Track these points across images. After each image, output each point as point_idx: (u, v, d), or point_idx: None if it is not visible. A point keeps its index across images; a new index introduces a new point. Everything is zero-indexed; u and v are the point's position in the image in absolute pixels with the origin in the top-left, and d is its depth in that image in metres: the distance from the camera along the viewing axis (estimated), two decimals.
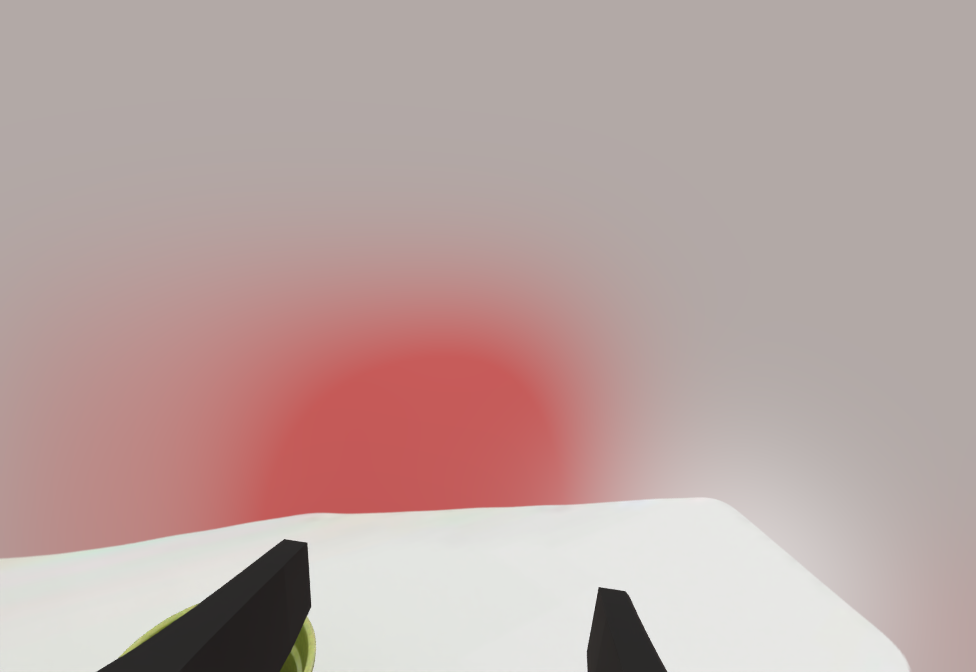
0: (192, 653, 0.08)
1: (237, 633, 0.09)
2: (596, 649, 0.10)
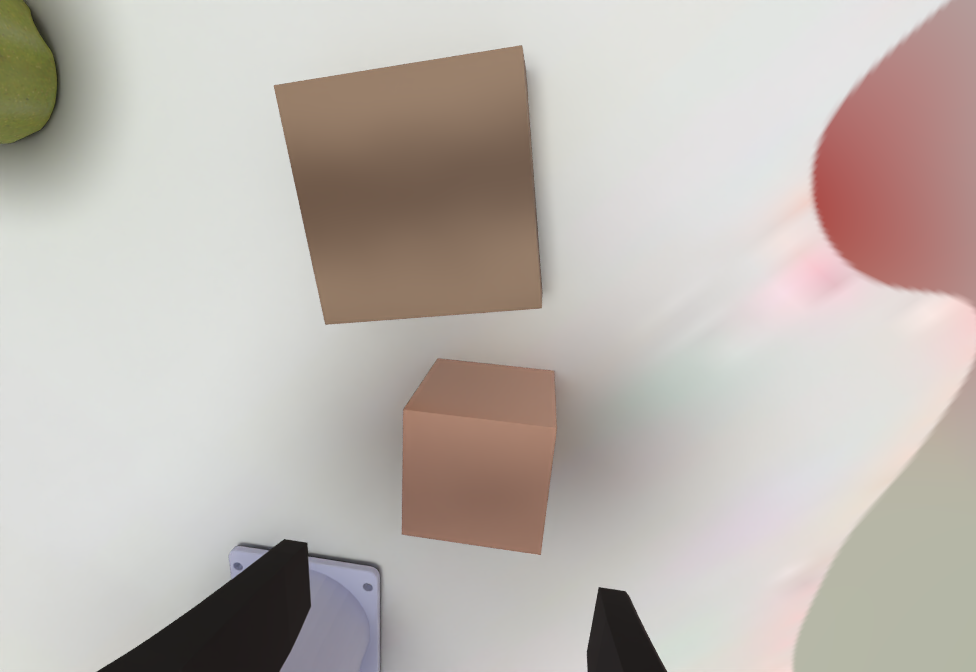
0: (192, 653, 0.08)
1: (237, 633, 0.09)
2: (596, 649, 0.10)
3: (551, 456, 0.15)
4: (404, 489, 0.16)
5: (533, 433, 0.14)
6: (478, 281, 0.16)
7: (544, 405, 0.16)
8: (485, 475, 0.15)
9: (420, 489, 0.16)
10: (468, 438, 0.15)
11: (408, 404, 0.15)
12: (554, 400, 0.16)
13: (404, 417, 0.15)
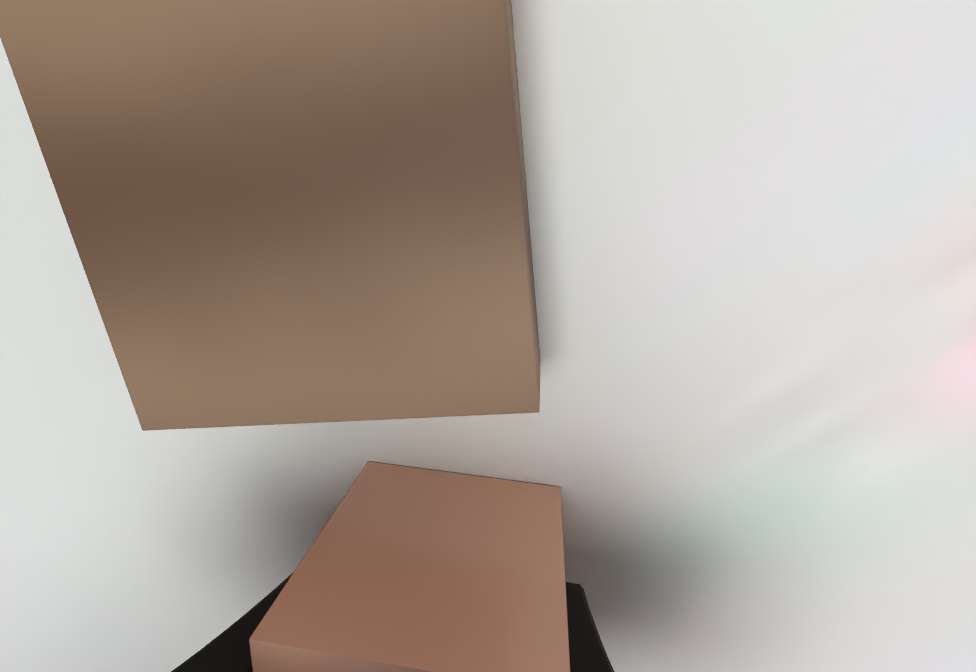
0: (248, 663, 0.07)
1: None
2: None
3: None
4: None
5: None
6: (414, 359, 0.08)
7: (544, 603, 0.08)
8: None
9: None
10: None
11: (267, 617, 0.07)
12: (563, 582, 0.09)
13: (252, 654, 0.07)
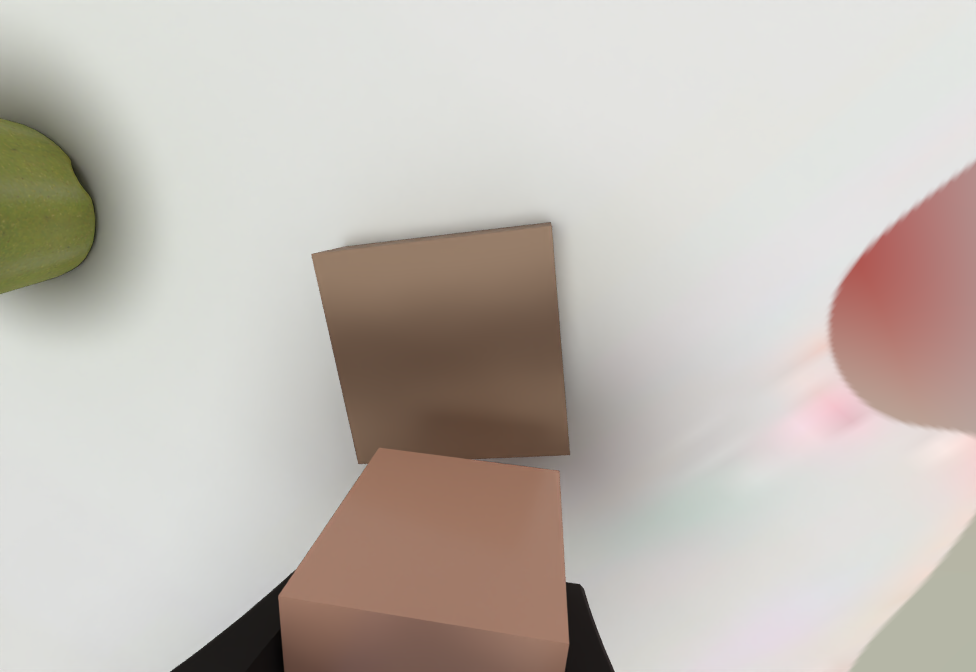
0: (248, 663, 0.07)
1: None
2: None
3: None
4: None
5: (523, 650, 0.07)
6: (508, 429, 0.16)
7: (544, 568, 0.09)
8: None
9: None
10: (402, 650, 0.08)
11: (294, 577, 0.08)
12: (562, 551, 0.09)
13: (281, 609, 0.08)
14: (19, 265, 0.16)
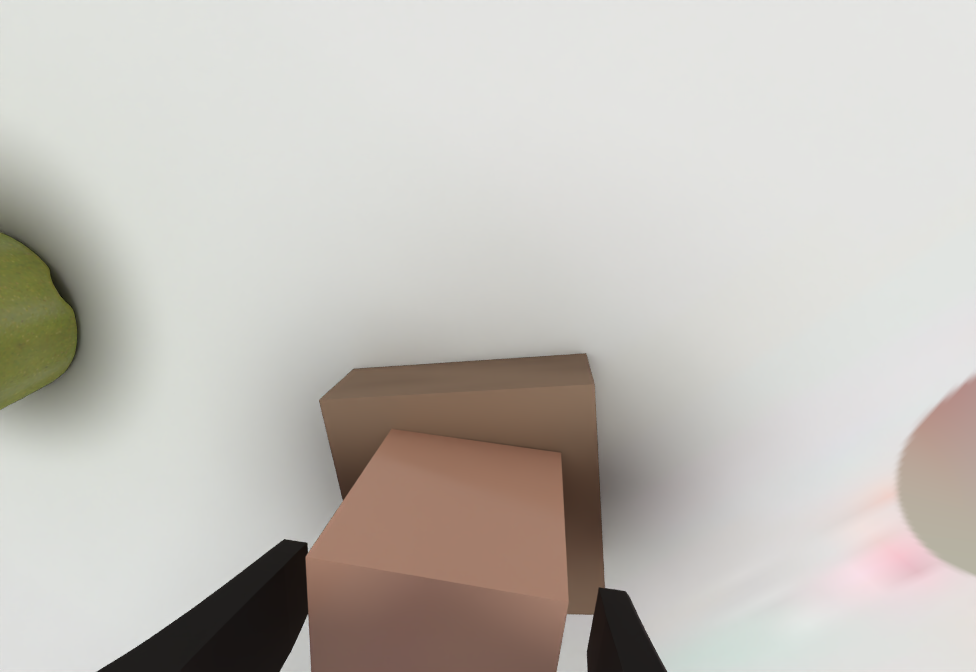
0: (192, 653, 0.08)
1: (237, 633, 0.09)
2: (596, 649, 0.10)
3: (558, 644, 0.08)
4: None
5: (527, 607, 0.08)
6: None
7: (546, 538, 0.10)
8: (445, 663, 0.09)
9: None
10: (416, 607, 0.09)
11: (318, 542, 0.09)
12: (563, 524, 0.10)
13: (307, 569, 0.09)
14: None
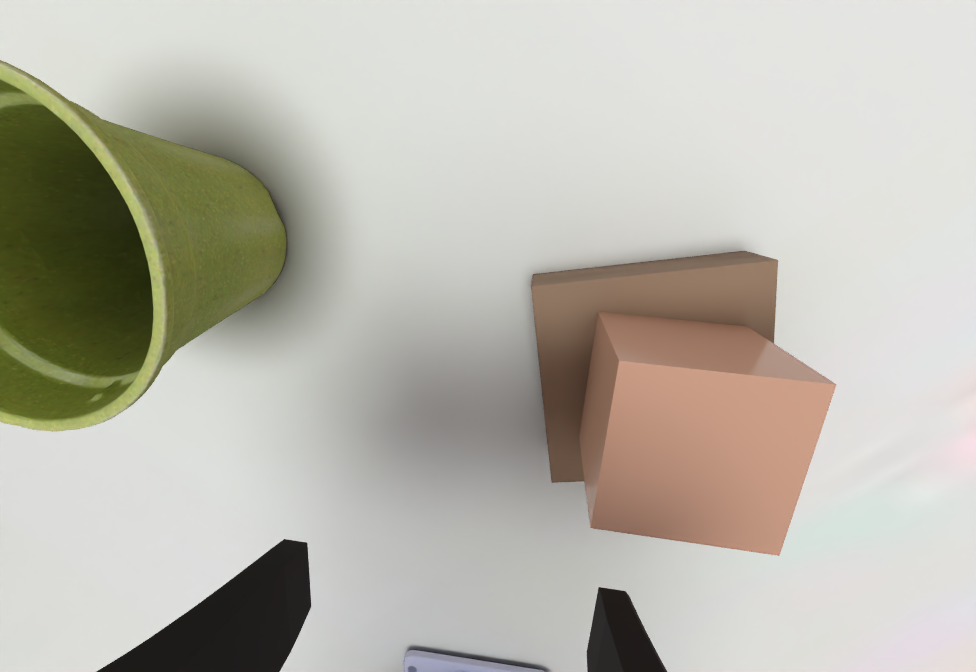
0: (192, 653, 0.08)
1: (237, 633, 0.09)
2: (596, 649, 0.10)
3: (820, 424, 0.11)
4: (602, 468, 0.12)
5: (800, 392, 0.11)
6: None
7: (786, 360, 0.12)
8: (720, 449, 0.11)
9: (625, 468, 0.12)
10: (706, 399, 0.11)
11: (619, 355, 0.11)
12: (790, 355, 0.12)
13: (619, 371, 0.11)
14: (241, 298, 0.17)
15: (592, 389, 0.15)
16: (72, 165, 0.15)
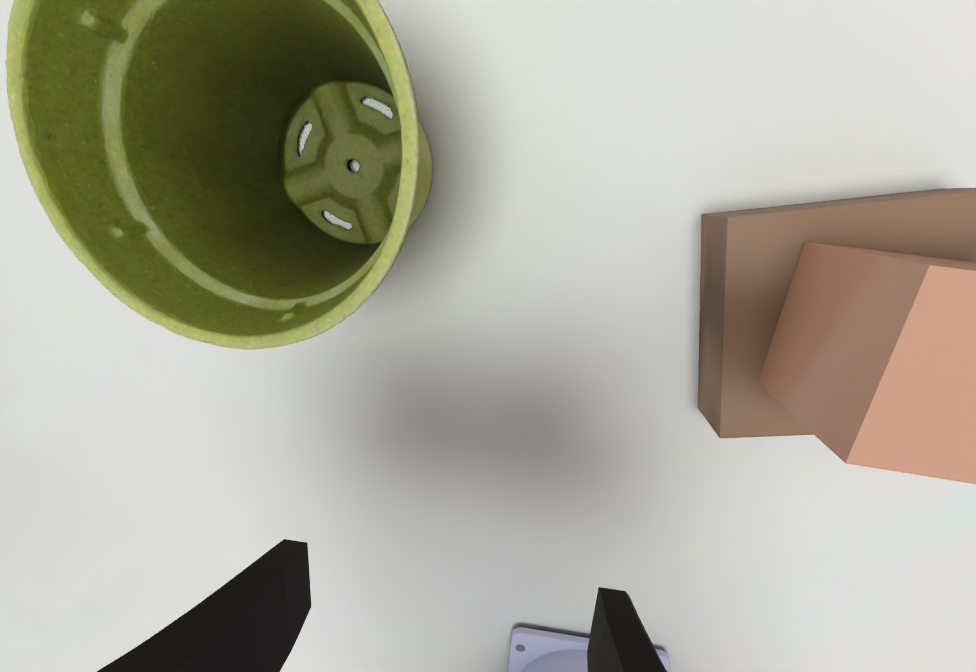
0: (192, 653, 0.08)
1: (237, 633, 0.09)
2: (596, 649, 0.10)
3: None
4: (877, 394, 0.11)
5: None
6: None
7: None
8: None
9: (904, 394, 0.11)
10: None
11: (918, 262, 0.10)
12: None
13: (928, 278, 0.10)
14: None
15: (805, 323, 0.14)
16: (234, 73, 0.14)
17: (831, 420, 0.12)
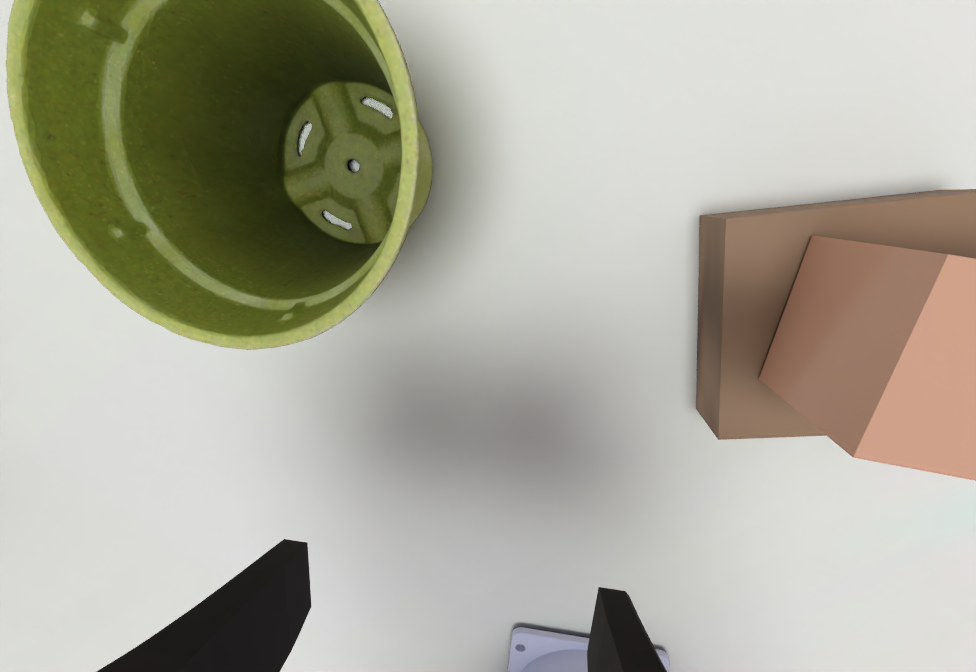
0: (192, 653, 0.08)
1: (237, 633, 0.09)
2: (596, 649, 0.10)
3: None
4: (888, 387, 0.10)
5: None
6: None
7: None
8: None
9: (916, 388, 0.10)
10: None
11: None
12: None
13: (946, 267, 0.10)
14: None
15: (811, 317, 0.14)
16: (234, 73, 0.14)
17: (838, 414, 0.12)
